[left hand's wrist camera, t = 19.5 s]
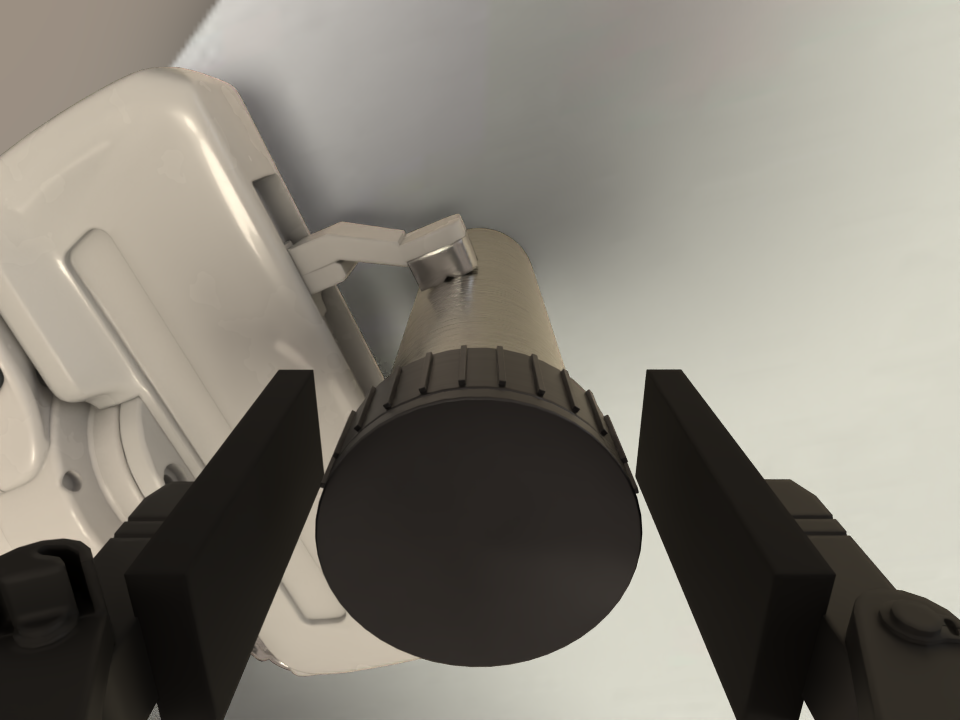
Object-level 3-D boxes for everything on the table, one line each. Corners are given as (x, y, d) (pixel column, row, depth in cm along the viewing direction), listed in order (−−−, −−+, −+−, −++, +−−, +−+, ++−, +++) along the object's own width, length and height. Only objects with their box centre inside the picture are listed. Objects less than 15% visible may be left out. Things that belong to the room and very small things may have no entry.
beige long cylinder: (484, 355, 27) (490, 657, 12) (401, 288, 26) (299, 530, 11) (556, 277, 26) (660, 508, 11) (473, 203, 25) (463, 351, 10)
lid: (490, 279, 11) (492, 318, 9) (677, 482, 13) (715, 555, 11) (278, 465, 12) (239, 535, 10) (470, 628, 14) (468, 717, 12)
